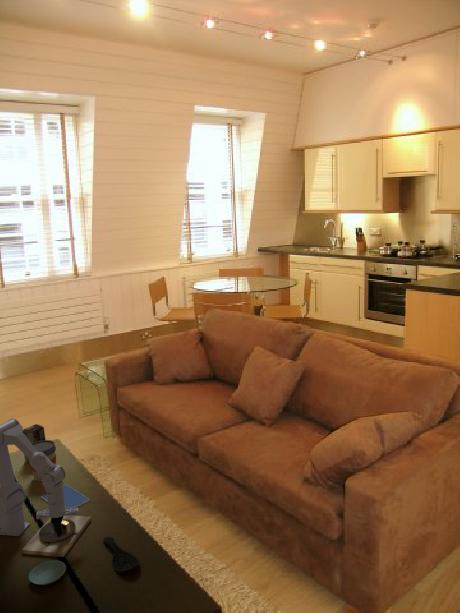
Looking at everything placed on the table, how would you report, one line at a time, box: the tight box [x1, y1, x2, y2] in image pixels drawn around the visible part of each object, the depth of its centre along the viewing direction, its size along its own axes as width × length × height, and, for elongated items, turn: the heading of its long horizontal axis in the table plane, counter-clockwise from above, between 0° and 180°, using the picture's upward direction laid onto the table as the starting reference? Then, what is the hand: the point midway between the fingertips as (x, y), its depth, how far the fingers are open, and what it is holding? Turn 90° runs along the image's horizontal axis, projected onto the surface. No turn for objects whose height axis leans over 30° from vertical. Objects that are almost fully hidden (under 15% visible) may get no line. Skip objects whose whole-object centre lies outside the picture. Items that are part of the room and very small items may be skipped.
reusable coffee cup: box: [27, 439, 57, 482], centre depth 245 cm, size 13×12×15 cm
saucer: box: [28, 559, 67, 586], centre depth 180 cm, size 12×12×2 cm
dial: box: [38, 519, 76, 543], centre depth 201 cm, size 13×13×5 cm
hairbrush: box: [103, 536, 140, 574], centre depth 188 cm, size 8×4×25 cm
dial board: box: [21, 515, 92, 558], centre depth 201 cm, size 16×22×2 cm
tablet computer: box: [40, 484, 90, 508], centre depth 227 cm, size 19×13×1 cm, turn 46°
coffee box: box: [23, 423, 47, 463], centre depth 263 cm, size 9×6×16 cm
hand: (59, 534), depth 197 cm, fingers closed, pressing on dial
